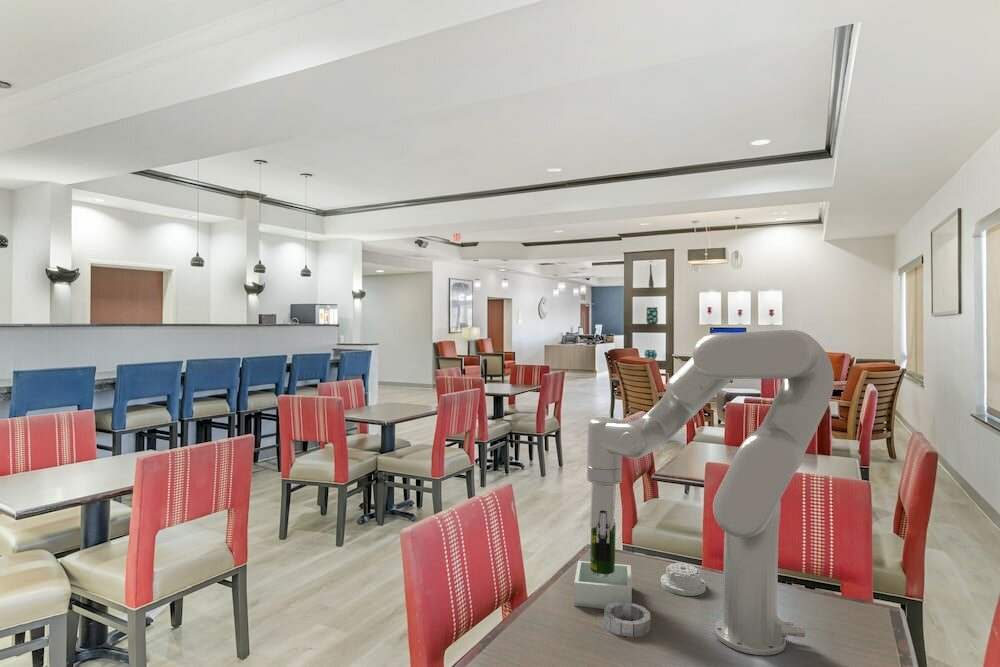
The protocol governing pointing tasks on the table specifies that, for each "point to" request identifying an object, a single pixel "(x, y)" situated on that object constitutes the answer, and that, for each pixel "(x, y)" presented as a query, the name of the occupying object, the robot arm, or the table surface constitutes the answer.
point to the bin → (602, 586)
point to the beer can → (600, 566)
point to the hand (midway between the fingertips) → (603, 554)
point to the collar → (627, 627)
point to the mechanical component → (683, 580)
